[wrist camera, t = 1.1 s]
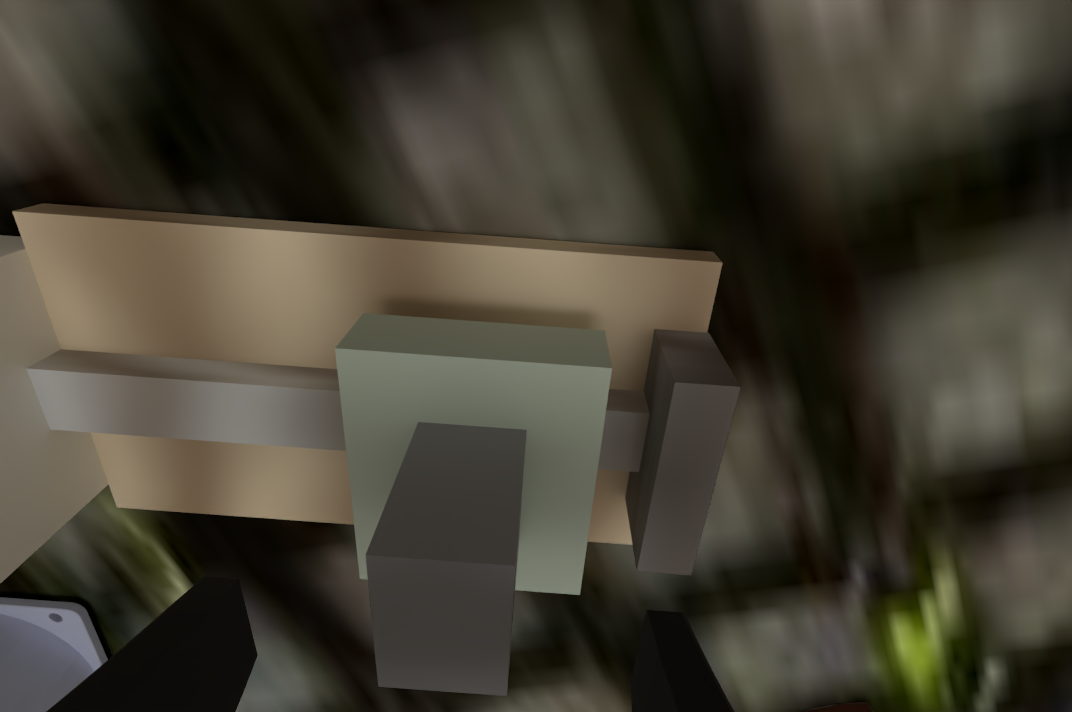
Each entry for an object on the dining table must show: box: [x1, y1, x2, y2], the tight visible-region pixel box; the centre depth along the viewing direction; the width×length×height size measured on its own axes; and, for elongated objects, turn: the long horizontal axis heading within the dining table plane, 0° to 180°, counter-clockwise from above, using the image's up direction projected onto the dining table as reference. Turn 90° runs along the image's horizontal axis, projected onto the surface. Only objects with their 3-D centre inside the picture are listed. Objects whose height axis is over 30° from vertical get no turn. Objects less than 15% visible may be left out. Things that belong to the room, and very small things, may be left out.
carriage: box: [335, 313, 612, 696], centre depth 13 cm, size 6×7×7 cm
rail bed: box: [12, 203, 741, 575], centre depth 16 cm, size 19×10×4 cm, turn 86°
